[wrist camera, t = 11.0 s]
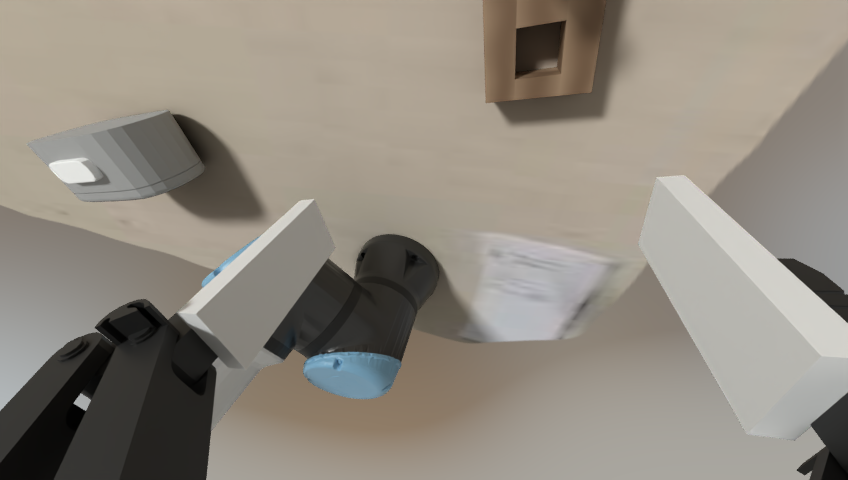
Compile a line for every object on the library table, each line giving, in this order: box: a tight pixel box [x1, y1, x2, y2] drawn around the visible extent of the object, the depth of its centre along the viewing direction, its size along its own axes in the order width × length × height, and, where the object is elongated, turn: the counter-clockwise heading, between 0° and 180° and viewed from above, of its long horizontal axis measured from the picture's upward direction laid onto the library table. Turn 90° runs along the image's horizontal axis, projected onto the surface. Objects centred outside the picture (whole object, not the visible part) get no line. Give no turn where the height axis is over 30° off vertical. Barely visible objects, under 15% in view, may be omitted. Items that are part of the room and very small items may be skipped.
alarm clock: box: [27, 110, 205, 202], centre depth 47 cm, size 21×10×13 cm, turn 100°
